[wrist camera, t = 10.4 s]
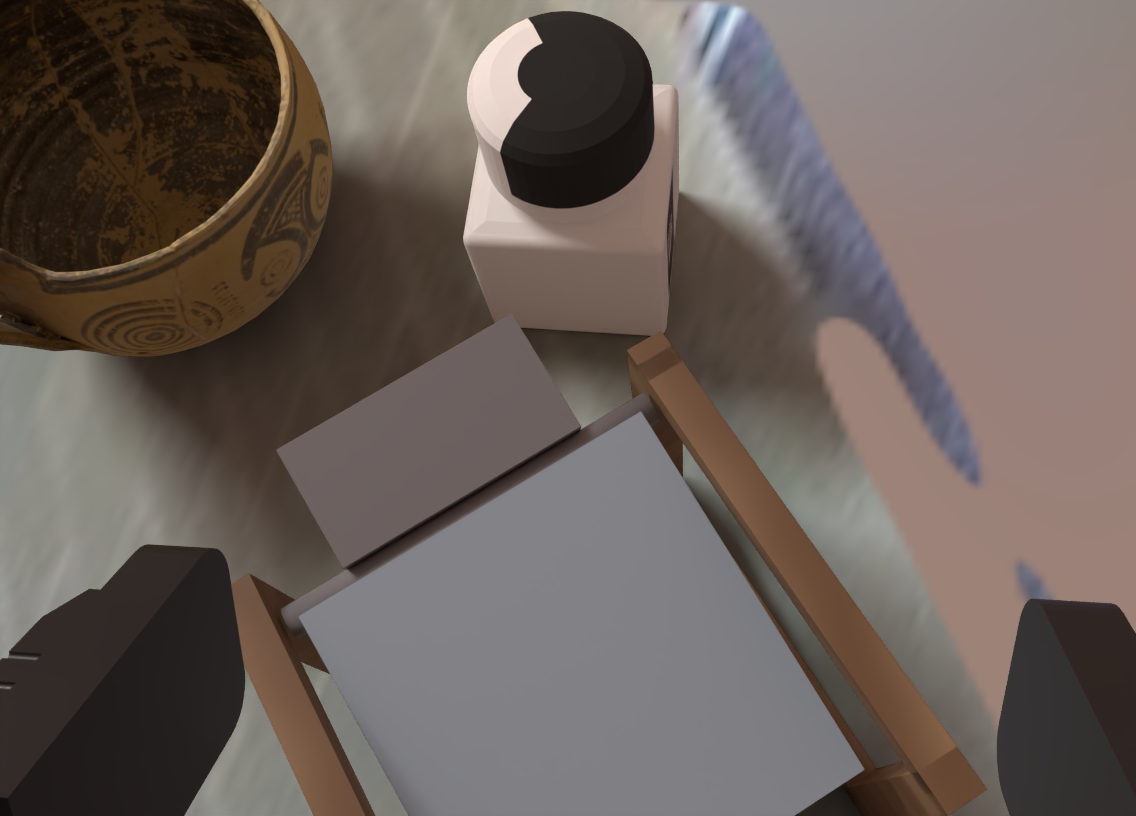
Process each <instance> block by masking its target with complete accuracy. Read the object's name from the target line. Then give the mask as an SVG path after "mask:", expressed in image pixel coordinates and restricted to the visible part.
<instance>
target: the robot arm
mask: <svg viewBox="0 0 1136 816" xmlns="http://www.w3.org/2000/svg"><path fill="white" fill-rule="evenodd" d="M244 691H245V670H244V662H243V656H242V650H241V643H240V637H239V631H238V625H237V618H236V612H235V606H234V599H233V593H232V587H231V580H230V574H229V569H228V564H227V561H226V559H225V557H224V555H223V554H222V552H221V551H220V550H218V549H214V548H199V547H182V546H166V545H149V544H148V545H144V546H142V547H140V548H139V549H138V550H137V551H136V552H135V553H134V554H133V555H132V556H131V557H130V558H129V559H128V560H127V561H126V562H125V564H124V565H123V566H122V567H121V568H120V569H119V570H118V571H117V572H116V573H115V574H114V576H113V577H112V578H111V579H110V580H109V581H108V582H107V583H106V584H105V585H104V587H103V588H102V589H101V590H97V589H88V590H87V591H85V592H83V593H82V594H80V595H78V596H77V597H75V598H73V599H72V600H70V601H68V602H67V603H65V604H63V605H62V606H60V607H58V608H57V609H55V610H53V611H51V612H50V613H48V614H46V615H45V616H43V617H42V618H41V619H40V620H39V621H38V622H37V623H36V624H35V625H34V626H33V627H32V628H31V629H30V630H29V631H28V632H27V633H26V634H25V635H24V636H23V637H22V639H21V640H20V641H19V642H18V643H17V644H16V645H15V646H14V647H13V648H12V649H11V650H10V651H9V657H8V659H7V658H2V659H1V660H0V816H184V815H185V813H186V812H187V810H188V808H189V806H190V805H191V803H192V801H193V800H194V798H195V796H196V794H197V793H198V791H199V789H200V788H201V786H202V784H203V783H204V781H205V779H206V777H207V776H208V774H209V772H210V771H211V769H212V767H213V765H214V764H215V762H216V760H217V759H218V757H219V755H220V754H221V752H222V750H223V748H224V747H225V745H226V743H227V742H228V740H229V738H230V737H231V735H232V733H233V731H234V729H235V727H236V724H237V722H238V719H239V716H240V713H241V709H242V704H243V699H244ZM997 763H998V773H999V780H1000V785H1001V790H1002V793H1003V797H1004V800H1005V803H1006V806H1007V808H1008V811H1009V814H1010V816H1136V633H1135V632H1134V630H1133V629H1132V627H1131V625H1130V623H1129V622H1128V620H1127V618H1126V617H1125V615H1124V613H1123V612H1122V611H1121V609H1120V608H1119V607H1118V606H1117V605H1115V604H1111V603H1095V602H1078V601H1062V600H1045V599H1030V600H1029V601H1028V602H1027V603H1026V604H1025V606H1024V608H1023V611H1022V614H1021V617H1020V622H1019V626H1018V631H1017V636H1016V641H1015V646H1014V651H1013V656H1012V661H1011V666H1010V671H1009V676H1008V681H1007V686H1006V691H1005V696H1004V701H1003V706H1002V711H1001V716H1000V721H999V727H998V736H997Z"/></svg>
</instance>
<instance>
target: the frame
mask: <svg viewBox="0 0 1136 816" xmlns="http://www.w3.org/2000/svg"><path fill="white" fill-rule="evenodd" d="M627 355H628V364H629V372H630V380H631V389H632V397H633V398H635V397H637V396H638V395H640V394H642V393H643V394H645V395H646V396H647V398H648V399H649V400H650V402H651V403H652V405H653V406H654V408H655V410H656V412H657V414H658V416H659V419H660V421H659V422H658V423H656V424H654V425H653V426H651V428H652V430H653V431H654V433H655V435H656V436H657V438H658V439H659V441H660V443H661V444H662V446H663V447H664V449H665V451H666V452H667V454H668V455H669V457H670V459H671V460H672V462H673V463H674V465H675V467H676V468H677V470H678V471H679V473H680V475H681V476H682V478H683V444H684V445H685V446H686V448H687V449H688V451H689V452H690V454H691V455H692V457H693V458H694V460H695V461H696V462H697V464H698V465H699V467H700V468H701V470H702V471H703V473H704V474H705V476H706V477H707V478H708V480H709V481H710V483H711V484H712V486H713V487H714V489H715V490H716V492H717V493H718V494H719V496H720V497H721V499H722V500H723V502H724V503H725V505H726V506H727V508H728V509H729V510H730V512H731V513H732V515H733V516H734V518H735V519H736V521H737V522H738V524H739V525H740V526H741V528H742V529H743V531H744V532H745V534H746V535H747V537H748V538H749V540H750V541H751V542H752V544H753V545H754V547H755V548H756V550H757V551H758V553H759V554H760V556H761V557H762V558H763V560H764V561H765V563H766V564H767V566H768V567H769V569H770V570H771V572H772V573H773V574H774V576H775V577H776V579H777V580H778V582H779V583H780V585H781V586H782V588H783V589H784V590H785V592H786V593H787V595H788V596H789V598H790V599H791V601H792V602H793V604H794V605H795V606H796V608H797V609H798V611H799V612H800V614H801V615H802V617H803V618H804V620H805V621H806V622H807V624H808V625H809V627H810V628H811V630H812V631H813V633H814V634H815V636H816V637H817V638H818V640H819V641H820V643H821V644H822V646H823V647H824V649H825V650H826V652H827V653H828V654H829V656H830V657H831V659H832V660H833V662H834V663H835V665H836V666H837V668H838V669H839V671H840V672H841V673H842V675H843V676H844V678H845V679H846V681H847V682H848V684H849V685H850V687H851V688H852V689H853V691H854V692H855V694H856V695H857V697H858V698H859V700H860V701H861V703H862V704H863V705H864V707H865V708H866V710H867V711H868V713H869V714H870V716H871V717H872V719H873V720H874V721H875V723H876V724H877V726H878V727H879V729H880V730H881V732H882V733H883V735H884V736H885V737H886V739H887V740H888V742H889V743H890V745H891V746H892V748H893V749H894V751H895V752H896V753H897V755H898V756H899V758H900V759H901V761H902V762H900V763H896V764H893V765H889V766H886V767H882V768H878V769H876V768H875V766H874V765H873V763H872V762H871V760H870V759H869V757H868V756H867V754H866V753H865V751H864V750H863V748H862V747H861V745H860V744H859V742H858V741H857V739H856V738H855V737H854V735H853V734H852V732H851V731H850V729H849V728H848V726H847V725H846V723H845V722H844V720H843V719H842V717H841V716H840V714H839V713H838V711H837V710H836V708H835V707H834V705H833V704H832V702H831V701H830V700H829V698H828V697H827V695H826V694H825V692H824V691H823V689H822V688H821V686H820V685H819V683H818V682H817V680H816V679H815V677H814V676H813V674H812V673H811V671H810V670H809V668H808V667H807V666H806V664H805V663H804V661H803V660H802V658H801V657H800V655H799V654H798V652H797V651H796V649H795V648H794V646H793V645H792V643H791V642H790V640H789V639H788V637H787V636H786V634H785V633H784V631H783V630H782V629H781V627H780V626H779V624H778V623H777V621H776V620H775V618H774V617H773V615H772V614H771V612H770V611H769V609H768V608H767V606H766V605H765V603H764V602H763V600H762V599H761V597H760V596H759V595H758V593H757V592H756V590H755V589H754V587H753V586H752V584H751V583H750V581H749V580H748V578H747V577H746V575H745V574H744V572H743V571H742V569H741V568H740V566H739V565H738V563H737V562H736V560H735V559H734V558H733V556H732V555H731V553H730V552H729V553H730V555H731V556H732V558H733V559H734V561H735V563H736V564H737V566H738V567H739V569H740V571H741V572H742V574H743V575H744V577H745V579H746V580H747V582H748V583H749V585H750V587H751V588H752V590H753V591H754V593H755V595H756V596H757V598H758V599H759V601H760V603H761V604H762V606H763V607H764V609H765V611H766V612H767V614H768V616H769V617H770V619H771V620H772V622H773V624H774V625H775V627H776V628H777V630H778V632H779V633H780V635H781V636H782V638H783V640H784V641H785V643H786V644H787V646H788V648H789V649H790V651H791V652H792V654H793V656H794V657H795V659H796V660H797V662H798V664H799V665H800V667H801V668H802V670H803V672H804V673H805V675H806V676H807V678H808V680H809V681H810V683H811V684H812V686H813V688H814V689H815V691H816V692H817V694H818V696H819V697H820V699H821V700H822V702H823V704H824V705H825V707H826V708H827V710H828V712H829V713H830V715H831V716H832V718H833V720H834V721H835V723H836V724H837V726H838V728H839V729H840V731H841V732H842V734H843V736H844V737H845V739H846V740H847V742H848V744H849V745H850V747H851V748H852V750H853V752H854V753H855V755H856V756H857V758H858V760H859V761H860V763H861V764H862V766H863V768H864V769H865V770H863V771H862V772H860V773H859V774H857V775H856V776H854V777H853V778H851V779H850V780H848V781H847V782H845V783H843V784H842V785H843V787H844V788H845V790H846V791H847V793H848V794H849V796H850V797H851V799H852V801H853V802H854V804H855V805H856V807H857V808H858V810H859V811H860V813H861V814H862V816H947V815H950V814H951V813H953V812H954V811H956V810H957V809H959V808H960V807H962V806H963V805H965V804H966V803H968V802H969V801H971V800H972V799H974V798H975V797H977V796H978V795H980V794H981V793H983V792H984V791H986V790H987V788H986V787H985V785H984V784H983V783H982V781H981V780H980V778H979V777H978V776H977V774H976V773H975V771H974V770H973V769H972V767H971V766H970V764H969V763H968V761H967V760H966V759H965V757H964V756H963V754H962V753H961V752H960V750H959V749H958V747H957V746H956V745H955V743H954V742H953V740H952V739H951V738H950V736H949V735H948V733H947V732H946V731H945V729H944V728H943V726H942V725H941V724H940V722H939V721H938V719H937V718H936V717H935V715H934V714H933V712H932V711H931V709H930V708H929V707H928V705H927V704H926V702H925V701H924V700H923V698H922V697H921V695H920V694H919V693H918V691H917V690H916V688H915V687H914V686H913V684H912V683H911V681H910V680H909V679H908V677H907V676H906V674H905V673H904V672H903V670H902V669H901V667H900V666H899V665H898V663H897V662H896V660H895V659H894V657H893V656H892V655H891V653H890V652H889V650H888V649H887V648H886V646H885V645H884V643H883V642H882V641H881V639H880V638H879V636H878V635H877V634H876V632H875V631H874V629H873V628H872V627H871V625H870V624H869V622H868V621H867V620H866V618H865V617H864V615H863V614H862V612H861V611H860V610H859V608H858V607H857V605H856V604H855V603H854V601H853V600H852V598H851V597H850V596H849V594H848V593H847V591H846V590H845V589H844V587H843V586H842V584H841V583H840V582H839V580H838V579H837V577H836V576H835V575H834V573H833V572H832V570H831V569H830V568H829V566H828V565H827V563H826V562H825V560H824V559H823V558H822V556H821V555H820V553H819V552H818V551H817V549H816V548H815V546H814V545H813V544H812V542H811V541H810V539H809V538H808V537H807V535H806V534H805V532H804V531H803V530H802V528H801V527H800V525H799V524H798V523H797V521H796V520H795V518H794V517H793V516H792V514H791V513H790V511H789V510H788V508H787V507H786V506H785V504H784V503H783V501H782V500H781V499H780V497H779V496H778V494H777V493H776V492H775V490H774V489H773V487H772V486H771V485H770V483H769V482H768V480H767V479H766V478H765V476H764V475H763V473H762V472H761V471H760V469H759V468H758V466H757V465H756V463H755V462H754V461H753V459H752V458H751V456H750V455H749V454H748V452H747V451H746V449H745V448H744V447H743V445H742V444H741V442H740V441H739V440H738V438H737V437H736V435H735V434H734V433H733V431H732V430H731V428H730V427H729V426H728V424H727V423H726V421H725V420H724V419H723V417H722V416H721V414H720V413H719V411H718V410H717V409H716V407H715V406H714V404H713V403H712V402H711V400H710V399H709V397H708V396H707V395H706V393H705V392H704V390H703V389H702V388H701V386H700V385H699V383H698V382H697V381H696V379H695V378H694V376H693V375H692V374H691V372H690V371H689V369H688V368H687V367H686V365H685V364H684V362H683V361H682V359H681V358H680V357H679V355H678V354H677V352H676V351H675V350H674V348H673V347H672V345H671V344H670V343H669V341H668V340H667V338H666V337H665V336H664V334H663V333H662V331H661V330H660V331H659V332H657V333H655V334H654V335H652V336H650V337H649V338H647V339H645V340H643V341H642V342H640V343H638V344H637V345H635V346H633V347H632V348H630V349H628V350H627ZM720 539H721V538H720ZM722 542H723V541H722ZM724 545H725V544H724ZM725 547H726V546H725ZM726 548H727V547H726ZM727 550H728V549H727ZM728 551H729V550H728ZM231 587H232V593H233V599H234V606H235V612H236V618H237V625H238V631H239V637H240V643H241V650H242V656H243V662H244V666H245V668H246V670H247V672H248V675H249V677H250V679H251V681H252V683H253V685H254V688H255V690H256V692H257V694H258V696H259V698H260V701H261V703H262V705H263V707H264V709H265V711H266V714H267V716H268V718H269V720H270V722H271V724H272V727H273V729H274V731H275V733H276V735H277V737H278V740H279V742H280V744H281V746H282V748H283V750H284V753H285V755H286V757H287V759H288V761H289V763H290V766H291V768H292V770H293V772H294V774H295V776H296V779H297V781H298V783H299V785H300V787H301V789H302V792H303V794H304V796H305V798H306V800H307V802H308V805H309V807H310V809H311V811H312V813H313V815H314V816H375V814H374V812H373V810H372V808H371V806H370V804H369V801H368V799H367V797H366V795H365V793H364V791H363V789H362V787H361V785H360V783H359V781H358V779H357V777H356V775H355V773H354V770H353V768H352V766H351V764H350V762H349V760H348V758H347V756H346V754H345V752H344V750H343V748H342V746H341V744H340V742H339V739H338V737H337V735H336V733H335V731H334V729H333V727H332V725H331V723H330V721H329V719H328V717H327V715H326V713H325V711H324V708H323V706H322V704H321V702H320V700H319V698H318V696H317V694H316V692H315V690H314V688H313V686H312V684H311V682H310V680H309V677H308V675H307V673H306V671H305V669H304V667H303V665H302V663H305V664H307V665H310V666H312V667H314V668H317V669H319V670H321V671H324V672H326V673H329V671H328V669H327V667H326V665H325V664H324V662H323V660H322V658H321V656H320V655H319V653H318V651H317V649H316V647H315V646H314V644H313V642H312V640H311V638H310V637H309V635H308V633H307V634H305V635H303V636H302V637H300V638H296V637H295V636H294V635H293V634H292V632H291V631H290V629H289V628H288V626H287V625H286V623H285V621H284V619H283V616H282V614H281V608H283V607H285V606H287V605H288V604H290V603H292V602H293V601H295V600H294V599H293V598H291V597H289V596H287V595H286V594H284V593H282V592H280V591H279V590H277V589H275V588H273V587H272V586H270V585H268V584H267V583H265V582H263V581H261V580H260V579H258V578H256V577H254V576H253V575H251V574H247V575H246V576H244V577H242V578H241V579H239V580H237V581H235V582H234V583H232V584H231ZM301 662H302V663H301ZM329 674H330V673H329Z"/></svg>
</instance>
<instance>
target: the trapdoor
mask: <svg viewBox="0 0 1136 816" xmlns="http://www.w3.org/2000/svg"><path fill="white" fill-rule="evenodd" d="M659 421H660V419H659V416H658V414H657V412H656V410H655V408H654V406H653V405H652V403H651V402H650V400H649V399H648V398H647V396H646V395H645V394H643V393H642V394H640V395H638V396H637V397H635V398H633V399H632V400H630V401H628V402H627V403H625V404H623V405H622V406H620V407H618V408H617V409H615V410H613V411H612V412H610V413H608V414H607V415H605V416H603V417H602V418H600V419H598V420H597V421H595V422H593V423H592V424H590V425H588V426H586V427H585V428H583V429H581V425H580V424H579V422H578V420H577V419H576V417H575V416H574V414H573V412H572V411H571V409H570V407H569V406H568V404H567V403H566V401H565V399H564V398H563V396H562V394H561V393H560V391H559V390H558V388H557V386H556V385H555V383H554V381H553V380H552V378H551V377H550V375H549V373H548V372H547V370H546V368H545V367H544V365H543V363H542V362H541V360H540V359H539V357H538V355H537V354H536V352H535V350H534V349H533V347H532V346H531V344H530V342H529V341H528V339H527V337H526V336H525V334H524V333H523V331H522V329H521V328H520V326H519V324H518V323H517V321H516V319H515V318H514V316H513V315H512V313H511V314H510V315H508V316H506V317H504V318H503V319H501V320H499V321H497V322H496V323H494V324H492V325H491V326H489V327H487V328H485V329H484V330H482V331H480V332H478V333H477V334H475V335H473V336H472V337H470V338H468V339H466V340H465V341H463V342H461V343H459V344H458V345H456V346H454V347H453V348H451V349H449V350H447V351H446V352H444V353H442V354H440V355H439V356H437V357H435V358H434V359H432V360H430V361H428V362H427V363H425V364H423V365H421V366H420V367H418V368H416V369H415V370H413V371H411V372H409V373H408V374H406V375H404V376H402V377H401V378H399V379H397V380H396V381H394V382H392V383H390V384H389V385H387V386H385V387H383V388H382V389H380V390H378V391H377V392H375V393H373V394H371V395H370V396H368V397H366V398H364V399H363V400H361V401H359V402H358V403H356V404H354V405H352V406H351V407H349V408H347V409H345V410H344V411H342V412H340V413H339V414H337V415H335V416H333V417H332V418H330V419H328V420H326V421H325V422H323V423H321V424H320V425H318V426H316V427H314V428H313V429H311V430H309V431H307V432H306V433H304V434H302V435H301V436H299V437H297V438H295V439H294V440H292V441H290V442H288V443H287V444H285V445H283V446H282V447H280V448H278V449H276V451H277V453H278V454H279V456H280V458H281V460H282V462H283V463H284V465H285V467H286V469H287V470H288V472H289V474H290V476H291V477H292V479H293V481H294V483H295V485H296V486H297V488H298V490H299V492H300V493H301V495H302V497H303V499H304V500H305V502H306V504H307V506H308V508H309V509H310V511H311V513H312V515H313V516H314V518H315V520H316V522H317V524H318V525H319V527H320V529H321V531H322V532H323V534H324V536H325V538H326V539H327V541H328V543H329V545H330V547H331V548H332V550H333V552H334V554H335V555H336V557H337V559H338V561H339V562H340V564H341V566H342V568H345V569H347V570H345V571H343V572H342V573H340V574H338V575H337V576H335V577H333V578H332V579H330V580H328V581H327V582H325V583H323V584H322V585H320V586H318V587H317V588H315V589H313V590H312V591H310V592H308V593H307V594H305V595H303V596H302V597H300V598H298V599H297V600H295V601H293V602H292V603H290V604H288V605H287V606H285V607H283V608H281V614H282V616H283V619H284V621H285V623H286V625H287V626H288V628H289V629H290V631H291V632H292V634H293V635H294V636H295V637H296V638H300V637H302V636H303V635H305V634H307V633H308V635H309V637H310V638H311V640H312V642H313V644H314V646H315V647H316V649H317V651H318V653H319V655H320V656H321V658H322V660H323V662H324V664H325V665H326V667H327V669H328V671H329V673H330V675H331V676H332V678H333V680H334V682H335V684H336V685H337V687H338V689H339V691H340V693H341V694H342V696H343V698H344V700H345V702H346V703H347V705H348V707H349V709H350V711H351V712H352V714H353V716H354V718H355V720H356V721H357V723H358V725H359V727H360V729H361V730H362V732H363V734H364V736H365V738H366V739H367V741H368V743H369V745H370V747H371V749H372V750H373V752H374V754H375V756H376V758H377V759H378V761H379V763H380V765H381V767H382V768H383V770H384V772H385V774H386V776H387V777H388V779H389V781H390V783H391V785H392V786H393V788H394V790H395V792H396V794H397V795H398V797H399V799H400V801H401V803H402V804H403V806H404V808H405V810H406V812H407V813H408V815H409V816H795V815H796V814H798V813H799V812H801V811H802V810H804V809H805V808H807V807H808V806H810V805H811V804H813V803H815V802H816V801H818V800H819V799H821V798H822V797H824V796H825V795H827V794H828V793H830V792H831V791H833V790H834V789H836V788H837V787H839V786H840V785H842V784H843V783H845V782H847V781H848V780H850V779H851V778H853V777H854V776H856V775H857V774H859V773H860V772H862V771H863V770H865V769H864V768H863V766H862V764H861V763H860V761H859V760H858V758H857V756H856V755H855V753H854V752H853V750H852V748H851V747H850V745H849V744H848V742H847V740H846V739H845V737H844V736H843V734H842V732H841V731H840V729H839V728H838V726H837V724H836V723H835V721H834V720H833V718H832V716H831V715H830V713H829V712H828V710H827V708H826V707H825V705H824V704H823V702H822V700H821V699H820V697H819V696H818V694H817V692H816V691H815V689H814V688H813V686H812V684H811V683H810V681H809V680H808V678H807V676H806V675H805V673H804V672H803V670H802V668H801V667H800V665H799V664H798V662H797V660H796V659H795V657H794V656H793V654H792V652H791V651H790V649H789V648H788V646H787V644H786V643H785V641H784V640H783V638H782V636H781V635H780V633H779V632H778V630H777V628H776V627H775V625H774V624H773V622H772V620H771V619H770V617H769V616H768V614H767V612H766V611H765V609H764V607H763V606H762V604H761V603H760V601H759V599H758V598H757V596H756V595H755V593H754V591H753V590H752V588H751V587H750V585H749V583H748V582H747V580H746V579H745V577H744V575H743V574H742V572H741V571H740V569H739V567H738V566H737V564H736V563H735V561H734V559H733V558H732V556H731V555H730V553H729V551H728V550H727V548H726V547H725V545H724V543H723V542H722V540H721V539H720V537H719V535H718V534H717V532H716V531H715V529H714V527H713V526H712V524H711V523H710V521H709V519H708V518H707V516H706V515H705V513H704V511H703V510H702V508H701V507H700V505H699V503H698V502H697V500H696V499H695V497H694V495H693V494H692V492H691V491H690V489H689V487H688V486H687V484H686V483H685V481H684V479H683V478H682V476H681V475H680V473H679V471H678V470H677V468H676V467H675V465H674V463H673V462H672V460H671V459H670V457H669V455H668V454H667V452H666V451H665V449H664V447H663V446H662V444H661V443H660V441H659V439H658V438H657V436H656V435H655V433H654V431H653V430H652V428H651V426H653V425H654V424H656V423H658V422H659ZM580 429H581V430H580Z"/></svg>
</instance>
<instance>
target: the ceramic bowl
mask: <svg viewBox="0 0 1136 816" xmlns="http://www.w3.org/2000/svg"><path fill="white" fill-rule="evenodd" d="M331 191H332V151H331V142H330V137H329V131H328V126H327V121H326V116H325V110H324V106H323V104H322V101H321V98H320V95H319V92H318V89H317V86H316V83H315V81H314V79H313V77H312V75H311V74H310V72H309V70H308V68H307V66H306V64H305V62H304V60H303V58H302V57H301V55H300V53H299V52H298V50H297V48H296V47H295V45H294V43H293V42H292V41H291V39H290V38H289V37H288V35H287V34H286V33H285V31H284V30H283V29H282V28H281V26H280V25H279V24H278V22H277V21H276V20H275V18H274V17H273V16H272V14H271V13H270V12H269V11H268V10H267V9H266V8H265V7H264V6H263V5H262V4H261V3H260V1H259V0H0V315H2V317H1V318H0V344H2V345H15V346H24V347H31V348H37V349H44V350H50V351H64V350H83V351H92V352H99V353H104V354H110V355H115V356H159V355H166V354H170V353H175V352H180V351H184V350H187V349H191V348H194V347H198V346H201V345H204V344H207V343H209V342H211V341H213V340H215V339H218V338H220V337H222V336H224V335H226V334H229V333H231V332H233V331H235V330H237V329H238V328H240V327H241V326H243V325H244V324H246V323H247V322H249V321H250V320H252V319H253V318H255V317H256V316H258V315H259V314H260V313H262V312H263V311H264V310H265V309H266V308H267V307H269V306H270V305H271V304H272V303H273V302H274V301H276V300H277V299H278V298H279V297H280V296H281V295H282V294H283V293H284V292H285V291H286V290H287V289H288V287H289V286H290V285H291V284H292V283H293V282H294V280H295V279H296V278H297V277H298V275H299V274H300V272H301V271H302V269H303V268H304V266H305V265H306V263H307V262H308V260H309V258H310V257H311V255H312V253H313V251H314V249H315V246H316V244H317V242H318V240H319V237H320V235H321V232H322V229H323V225H324V222H325V219H326V216H327V212H328V207H329V202H330V197H331Z"/></svg>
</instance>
